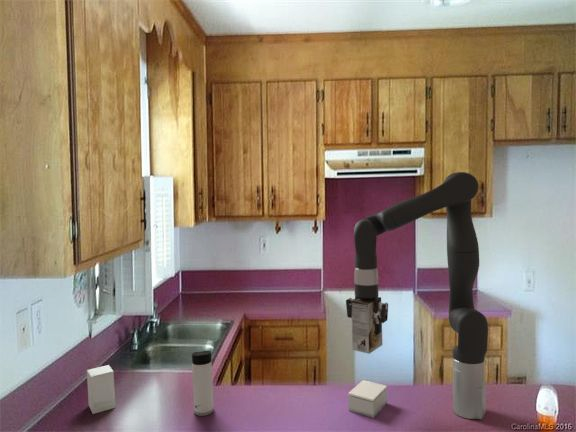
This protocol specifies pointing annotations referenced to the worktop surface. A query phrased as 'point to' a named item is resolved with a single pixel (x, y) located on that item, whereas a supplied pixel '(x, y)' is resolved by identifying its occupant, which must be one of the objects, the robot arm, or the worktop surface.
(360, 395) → the lid
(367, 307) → the coffee box
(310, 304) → the worktop surface
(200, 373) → the travel mug
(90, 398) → the supplement box
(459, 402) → the robot arm
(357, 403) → the white box
